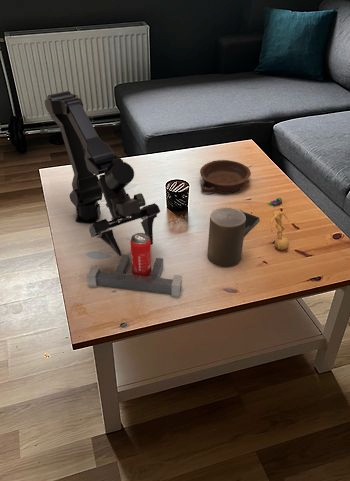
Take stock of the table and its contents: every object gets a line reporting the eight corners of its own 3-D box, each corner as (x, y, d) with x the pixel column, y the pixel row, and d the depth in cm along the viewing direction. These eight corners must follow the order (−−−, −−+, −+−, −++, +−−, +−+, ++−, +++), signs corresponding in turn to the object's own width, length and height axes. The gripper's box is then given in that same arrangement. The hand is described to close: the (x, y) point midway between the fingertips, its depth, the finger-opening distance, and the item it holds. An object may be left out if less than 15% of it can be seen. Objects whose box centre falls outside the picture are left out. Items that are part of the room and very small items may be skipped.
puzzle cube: (276, 201, 161) (277, 195, 159) (281, 205, 159) (282, 199, 157) (266, 204, 159) (267, 198, 158) (271, 208, 157) (272, 202, 156)
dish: (262, 180, 171) (264, 168, 168) (225, 205, 158) (226, 192, 155) (223, 164, 181) (224, 152, 178) (185, 187, 167) (185, 174, 164)
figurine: (278, 257, 136) (284, 223, 129) (260, 248, 139) (265, 214, 132) (294, 245, 141) (301, 211, 134) (277, 236, 144) (282, 202, 137)
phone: (214, 232, 144) (239, 210, 154) (214, 235, 145) (238, 212, 155) (237, 241, 141) (261, 218, 151) (237, 244, 142) (260, 221, 151)
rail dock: (89, 286, 126) (87, 275, 124) (101, 259, 135) (100, 248, 133) (179, 297, 123) (179, 286, 121) (185, 269, 132) (186, 258, 130)
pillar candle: (231, 271, 131) (237, 227, 122) (200, 259, 135) (203, 215, 126) (247, 253, 138) (253, 209, 129) (217, 242, 142) (220, 199, 133)
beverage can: (143, 282, 128) (141, 246, 120) (128, 274, 130) (126, 239, 123) (155, 272, 131) (154, 237, 124) (140, 264, 133) (139, 229, 126)
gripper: (89, 196, 115) (112, 257, 115) (156, 176, 123) (178, 233, 123) (79, 208, 125) (101, 263, 125) (142, 189, 133) (163, 241, 133)
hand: (136, 250), depth 126 cm, fingers open, 9 cm apart
